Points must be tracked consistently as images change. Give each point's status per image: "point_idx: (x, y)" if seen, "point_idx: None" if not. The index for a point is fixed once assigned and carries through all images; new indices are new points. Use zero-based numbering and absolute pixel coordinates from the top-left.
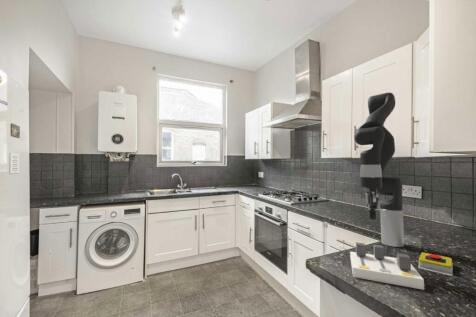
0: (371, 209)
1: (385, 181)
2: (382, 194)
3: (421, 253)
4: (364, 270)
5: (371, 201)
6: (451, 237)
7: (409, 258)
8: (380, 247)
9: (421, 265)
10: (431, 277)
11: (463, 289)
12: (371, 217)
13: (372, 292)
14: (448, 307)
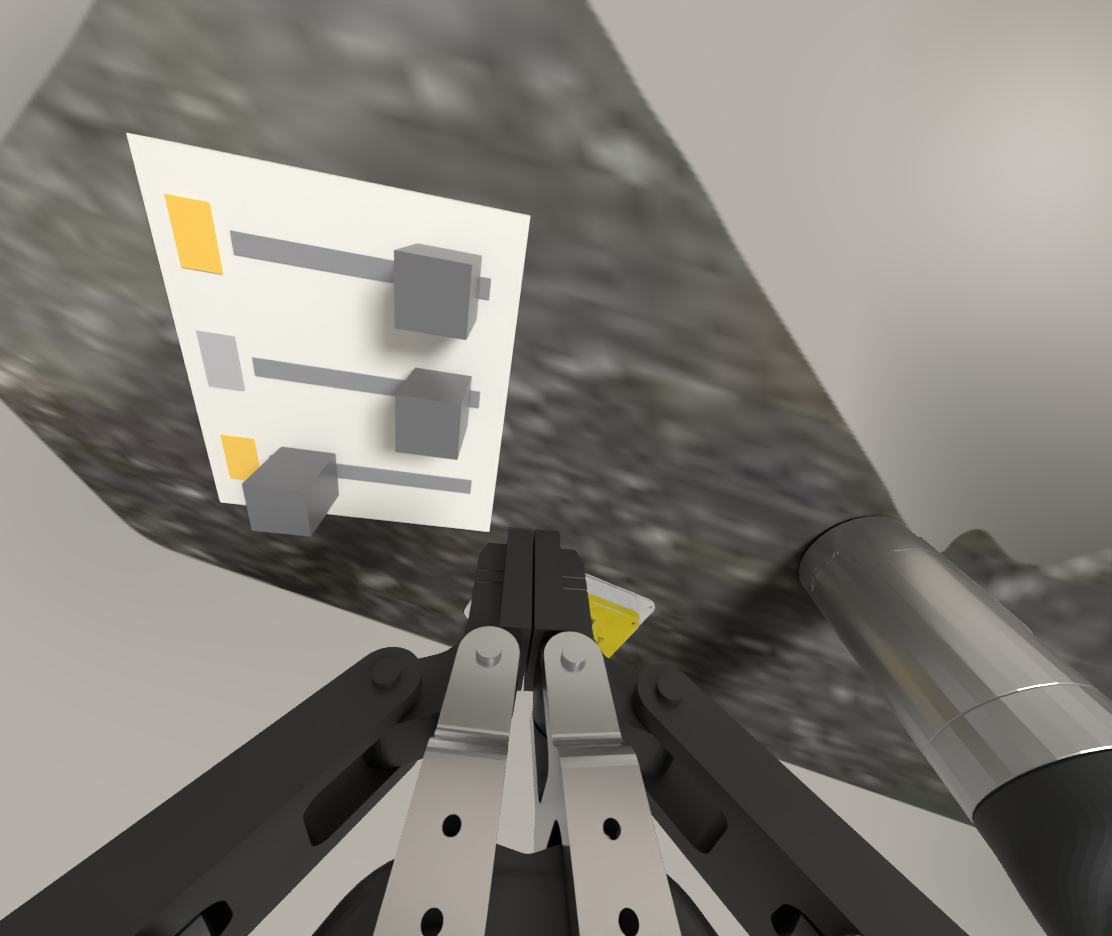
0: (445, 657)
1: None
2: None
3: (624, 614)
4: (155, 225)
5: (86, 874)
6: (923, 767)
7: (253, 524)
8: (398, 432)
9: None
10: (411, 549)
11: (341, 595)
12: (482, 553)
13: (17, 215)
14: (127, 493)
